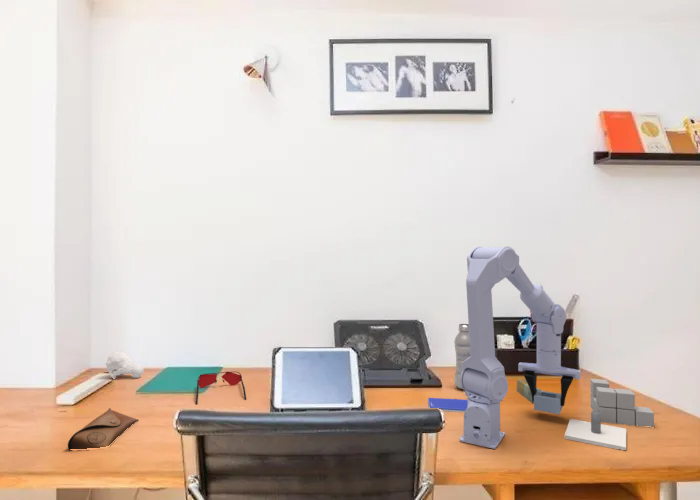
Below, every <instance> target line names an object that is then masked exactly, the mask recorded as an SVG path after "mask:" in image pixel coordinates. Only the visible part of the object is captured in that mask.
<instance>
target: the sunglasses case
mask: <svg viewBox="0 0 700 500" xmlns="http://www.w3.org/2000/svg"><path fill="white" fill-rule="evenodd" d="M136 421H137V422H139V419H137V418H134V417H131V416H128V415H126V414H125V413H124V414H123V413H121V412H118V411H116V410H112V409H111V407H110V408H108V409H107V410H106V411H105V412H104V413H101V414H100V415H99V416H97V417H96V418H95V419H93V420H92V421H90V422H89V423H88V424H86V425H84V427H83V428H81V429H79V430H78V431H76V432H75V433H74V434H72V435H71V437H70V438H69V440H68V442H67V449H68V450H69V449H87V448H100V447H106V446H109V445H110V444H111V443H112V442H113V441H114V440H115V439H116V438H117V437H118V436H119V437H120V436H122V434H123V433H125V432H126V431H127V430H128V429H129V428H130V427H132V426H133V425H134V424H136V423H137V422H136ZM135 422H136V423H135ZM132 424H133V425H132ZM131 425H132V426H131ZM127 428H128V429H127ZM126 429H127V430H126ZM125 430H126V431H125ZM124 431H125V432H124ZM119 437H118V438H119ZM118 438H117V439H118ZM117 439H116V440H117ZM116 440H115V441H116ZM115 441H114V442H115ZM114 442H113V443H114ZM113 443H112V444H113ZM112 444H111V445H112ZM111 445H110V446H111Z"/></svg>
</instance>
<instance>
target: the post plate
mask: <svg viewBox="0 0 700 500" xmlns="http://www.w3.org/2000/svg"><path fill="white" fill-rule="evenodd" d="M564 439H565V440H569V441H574V442H579V443H584V444H589V445H594V446H599V447H605V448H609V449H613V448H614V450H618V449H621V450H620V451H623V450H626V451H627V428H624V427H619V426H614V425H607V424H602V422H601V413H599V412H594V411H593V410H592V411H590V421H585V420H579V419H575V418H570V419H569V421H568V424H567V426H566V430H565V433H564Z"/></svg>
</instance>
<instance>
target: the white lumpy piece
mask: <svg viewBox="0 0 700 500" xmlns="http://www.w3.org/2000/svg"><path fill="white" fill-rule="evenodd" d="M105 365H106V369H107V371H108V375H109V374H110V375H112V377H113V379H114V380H116V377H117V376H118V377H122V376H124V375H129V374H131V377H132V379H139V378H141V375H143V374H144V370H145V368H144V366H143V365H141V364H139V363H136V362H135V361H134V359H132V358H131V356H129V355H127V353H125V352H122V351H115V352H112V353H111V354H110V355H109V356H108V357H107V361H106V363H105ZM110 375H109V376H110Z"/></svg>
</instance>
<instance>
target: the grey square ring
mask: <svg viewBox="0 0 700 500" xmlns="http://www.w3.org/2000/svg"><path fill="white" fill-rule="evenodd" d="M563 407H564V406H561V392H560V393H559V392H553V391H546V390H542V391H540V390H538V391H537V392H536V394H535V395H534V404H533V410H534V411H539V412H543V413H545V412H546V413H550V414H554V415H555V414H556V415H560V414H561V412H562V409H563Z"/></svg>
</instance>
